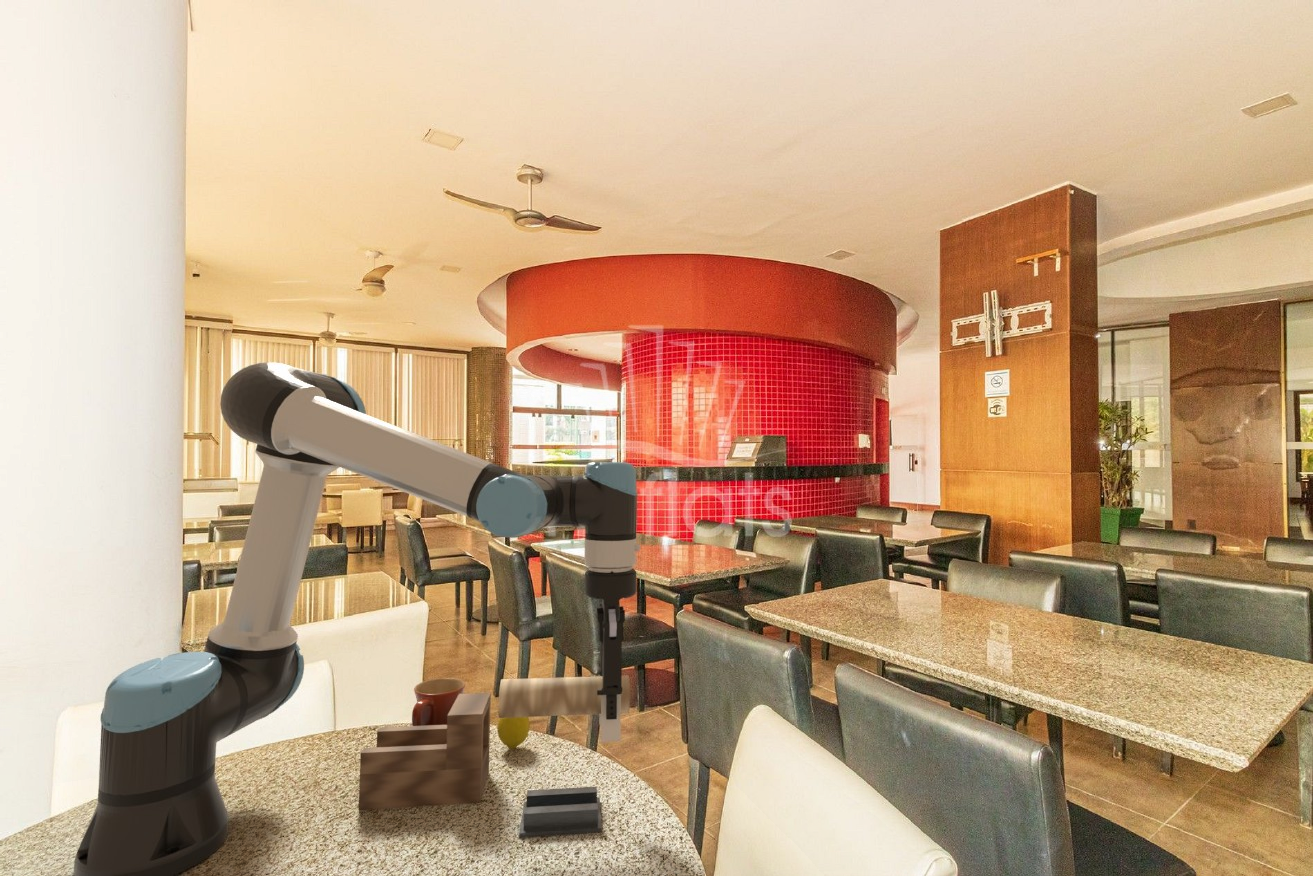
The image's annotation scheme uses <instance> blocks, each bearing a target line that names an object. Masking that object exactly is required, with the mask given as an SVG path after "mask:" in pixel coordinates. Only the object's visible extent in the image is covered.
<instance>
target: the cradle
mask: <svg viewBox="0 0 1313 876" xmlns="http://www.w3.org/2000/svg"><path fill="white" fill-rule="evenodd" d="M526 791H527V793H526V801H523V808H522V813H521V819H520V826H519V831H518V838H519V839H522V838H523V839H524V838H526V839H527V838H538V837H539V838H540V837H555V836H568V835H570V836H572V835H582V834H583V835H584V834H602V832H603V831H602V830H603V828H602V826H603V825H602V824H603V823H602V816H601V815H602V814H601V813H602V812H601V811H602V810H601V800H600V799H601V797H598V786H583V787H581V786H580V787H579V786H578V787H568V788H567V787H565V788H549V789H548V788H545V789H531V790H530V789H529V790H526Z"/></svg>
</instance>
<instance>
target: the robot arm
mask: <svg viewBox="0 0 1313 876" xmlns="http://www.w3.org/2000/svg"><path fill="white" fill-rule="evenodd" d="M219 406H220V412H221V415H222V418H223V420H224V422H225V424H226V425H227V426H228V428H229V429H230V430H231V431H232V432H233V433H234V434H235V435H237V436H238V437H240V438H241V439H243V440H245V441H247V442H250V443H253V444H256V446H255V447H256V448H255V454H256V456H257V457H259V459H260V460H261V462H262V463H263V468H262V471H261V476H260V478H259V479H260V480H259V483H258V488H257V491H256V494H255V499H254V503H253V506H252V512H251V515H250V519H249V524H248V526H247V530H246V535H245V538H244V542H243V546H242V550H241V554H240V558H239V560H238V561H239V562H238V565H237V570H236V573H235V577H234V581H233V585H232V587H231V588H232V589H231V591H230V596H229V600H228V605H227V608H226V613H225V617H224V620H223V621H221V622H219V624H216V625H215V626H214V627H213V628H211V629H210V630H209V631H208V634H207V638H206V641H205V645H204V646H205V647H204V651H189V652H188V651H187V652H185V651H184V652H179V653H178V652H177V653H173V654H169V655H167V656H165V657H156V658H152V659H149V660H146V661H144V662H141V663H139V664H136V665H134V666H132V667H130V668H128V669H126V670H125V671H123V672H121V673H120V674H118V675H117V676H115V678H113V679H112V681H111V682H110V683H109V684H108V686H107V688H106V690H105V695H104V703H103V708H102V710H101V714H100V724H101V726H100V727H101V728H100V730H101V731H100V750H99V751H100V753H99V772H98V793H97V804H96V808H95V810H94V811H93V815H92V817H91V819H90V821H89V824H88V826H87V828H86V831H85V833H84V835H83V838H82V840H81V842H80V844H79V847H78V849H77V851H76V854H75V858H74V862H73V863H74V864H73V875H74V876H176V875H178V874H180V873H183V872H185V871H187V870H189V869H191V868H192V867H193V868H194V866H196V865H198V864H199V863H200V864H201V862H203V861H204V860H206V859H207V858H208V857H210V856H211V855H212V854H214V853H215V852H217V851H218V849H219V848H220V847H221V846H222V845H223V844H224V842H225V841H226V839H227V837H228V832H229V831H228V830H229V814H228V813H229V812H228V811H227V808H226V804H225V802H224V799H223V797H222V794H221V793H222V792H221V791H220V788H219V785H218V782H217V780H216V773H215V772H216V757H217V743H218V742H220V741H221V740H224V739H225V738H227V737H229V736H231V735H232V734H235V733H236V732H238V731H240V730H242V729H244V728H246V727H247V726H249V725H251V724H253V723H255V722H257V721H259V720H262V719H263V718H264V719H265V718H266V717H268V716H269V715H271V714H273V713H274V712H275V711H277V710H278V709H280V707H281V706H283V705H284V704H286V703H287V702H288V701H289V700H290V699H291V698H292V697H293V696H294V694H295V693H296V691H297V690H298V689H299V687H300V685H301V682H302V679H303V677H304V671H305V660H304V655H303V654H301V653H300V650H301V648H300V646H299V645H298V644H297V642H298V639H299V638H298V637H299V634H298V633H297V631H296V630H295V629H294V628H293V626H292V625H291V620H292V617H293V613H294V609H295V605H296V601H297V597H298V594H299V589H300V585H301V581H302V577H303V573H304V569H305V566H306V561H307V558H308V554H309V551H310V545H311V542H312V537H313V533H314V530H315V527H316V526H315V525H316V522H317V519H318V513H319V509H320V506H321V501H322V498H323V495H324V494H323V493H324V490H325V486H326V482H327V480H328V479H327V478H328V476H329V474H331V473H333V472H335V471H337V469H340V468H341V469H344V470H347V471H349V472H352V473H354V474H357V475H359V476H362V477H365V478H368V479H370V480H373V481H375V482H378V483H380V484H383V485H385V486H388V487H391V488H393V489H395V490H399V491H400V492H402V493H406V494H408V495H411V496H413V497H415V498H419V499H421V500H424V501H425V502H426V501H427V502H429V503H432V504H434V505H437V506H439V507H442V508H444V509H447V510H450V511H452V512H454V513H457V514H459V515H462V516H465V517H468V518H469V519H472V520H475V521H476V522H479V523H480V524H481V525H482V527H483V528H485V530H487V531H488V532H489V533H490V534H492V535H494V536H497V537H501V538H510V539H511V538H512V539H513V538H514V539H515V538H521V537H524V536H526V535H529V534H531V533H532V532H535V531H538V530H541V529H544V528H548V527H555V528H556V527H574V528H576V527H577V528H581V527H584V529H585V531H584V532H585V533H584V566H585V567H587V569H586V570H585V571H584V594H585V596H587V597H589V598H590V599H594V600H598V599H600V600H601V602H600V603H599V606H596V610H595V611H596V621H597V634H598V640H599V663H598V667H599V669H600V670H599V676H603V688H602V690H597V695H601V714H598V715H599V717H598V719H599V723H598V724H599V726H600V742H601V743H612V742H615V743H616V742H621V738H622V737H621V736H622V735H621V730H622V728H621V725H622V722H621V719H622V718H621V716H622V715H621V714H622V713H621V693H622V676H623V674H622V671H623V670H622V669H623V667H622V665H623V663H622V662H623V661H622V660H623V658H622V656H623V654H622V652H623V651H622V649H623V647H622V645H623V644H622V643H623V641H624V623H625V621H626V612H625V611H626V610H625V609H624V606H623V605H621V606H620V600H622V599H628V598H631V597H634V596H635V595H636V594H637V571H636V570H635V568H633V567H635V565H637V554H636V553H635V552H639V551H641V545H640V544H637V528H638V527H637V526H638V525H637V521H638V520H637V519H638V518H637V517H638V489H637V470H636V467H635V466H634V465H633V464H632V463H630V462H621V461H619V462H617V461H615V462H614V461H613V462H612V461H611V462H610V461H607V462H606V461H605V462H603V461H600V462H599V461H597V462H594V461H593V462H592V461H591V462H589V463H586V466H585V471H584V473H583V474H582V475H581V474H580V475H541V474H539V475H538V474H535V475H534V474H522V473H520V472H517V471H515V470H511V469H509V468H506V467H503V466H502V465H498V464H495V463H493V462H490V461H488V460H485V459H483V458H480V457H477V456H475V455H473V454H469V453H467V452H464V451H462V450H459V449H457V448H455V447H452V446H449V445H447V444H444V443H440V442H439V441H437V440H436V441H435V440H433V439H431V438H428V437H426V436H423V435H420V434H417V433H414V432H413V431H410V430H407V429H405V428H402V427H399V426H397V425H394V424H392V423H389V422H386V421H384V420H382V419H379V418H376V417H373V416H371V415H369V414H367V412H366V406H365V403H364V402H363V399H362V398H361V396H360V395H359V393H358V391H357V390H355V389H354V387H352V386H351V385H349V384H348V383H346V382H345V381H342V380H340V379H337V378H336V377H334V376H330V375H328V374H323V373H319V372H313V371H309V370H306V369H301V368H299V367H294V366H291V365H288V364H284V363H281V362H280V363H279V362H259V363H254V364H249V365H248V366H245V367H243V368H241V369H240V370H238V371H236V372H235V373H234V374H233V375H232V376H231V377H230V378H229V379H228V380H227V382H226V383H225V385H224V387H223V389H222V391H221V395H220V404H219Z"/></svg>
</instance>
